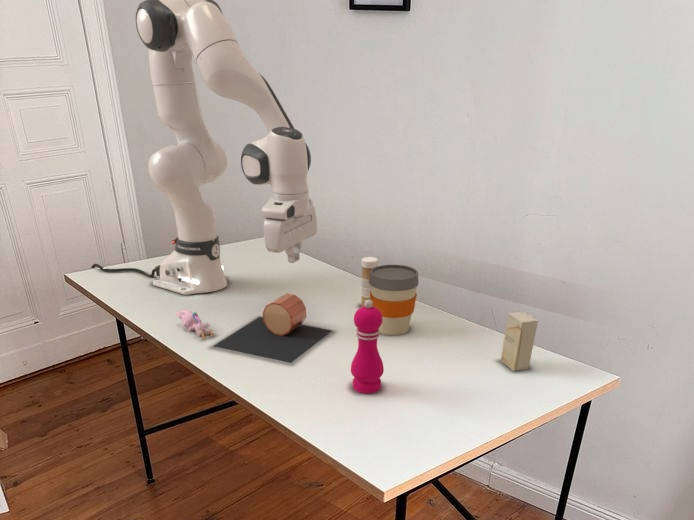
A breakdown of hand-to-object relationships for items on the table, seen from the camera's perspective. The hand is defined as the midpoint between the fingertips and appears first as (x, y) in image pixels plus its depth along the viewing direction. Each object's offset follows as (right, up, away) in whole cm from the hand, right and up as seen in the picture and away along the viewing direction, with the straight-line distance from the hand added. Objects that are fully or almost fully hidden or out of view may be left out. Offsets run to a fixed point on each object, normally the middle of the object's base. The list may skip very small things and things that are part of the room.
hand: (293, 261), depth 172 cm
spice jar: (+19, -6, +21) cm, 29 cm away
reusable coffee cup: (+25, -15, +8) cm, 30 cm away
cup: (-3, -16, +5) cm, 17 cm away
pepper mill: (+18, -35, -20) cm, 44 cm away
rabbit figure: (-26, -16, +6) cm, 32 cm away
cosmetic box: (+54, -28, -10) cm, 61 cm away
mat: (-5, -19, +1) cm, 20 cm away
